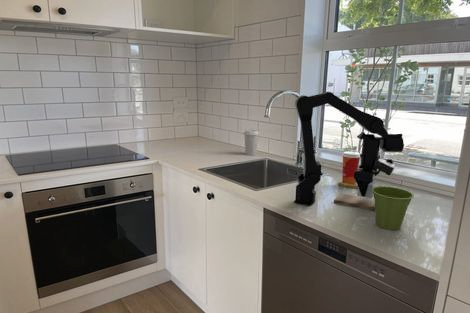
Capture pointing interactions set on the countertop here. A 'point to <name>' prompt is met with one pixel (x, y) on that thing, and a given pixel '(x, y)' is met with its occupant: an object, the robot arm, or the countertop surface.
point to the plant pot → (391, 206)
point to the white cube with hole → (368, 191)
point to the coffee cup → (251, 141)
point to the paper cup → (350, 167)
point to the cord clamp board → (354, 199)
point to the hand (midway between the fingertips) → (366, 193)
